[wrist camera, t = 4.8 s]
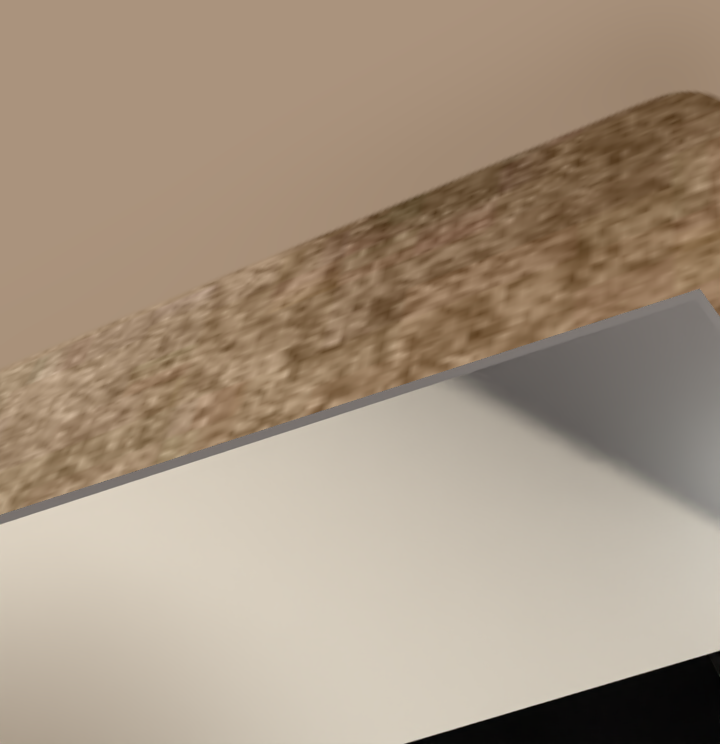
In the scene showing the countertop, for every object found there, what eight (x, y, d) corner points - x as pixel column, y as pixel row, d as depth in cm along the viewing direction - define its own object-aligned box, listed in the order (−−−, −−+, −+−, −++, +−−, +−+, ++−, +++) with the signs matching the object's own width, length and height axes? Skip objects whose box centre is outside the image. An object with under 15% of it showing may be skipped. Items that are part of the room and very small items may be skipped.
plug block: (527, 675, 13) (1594, 1540, 1) (377, 725, 13) (-140, 2171, 1) (474, 536, 14) (698, 288, 3) (340, 580, 14) (-44, 529, 3)
